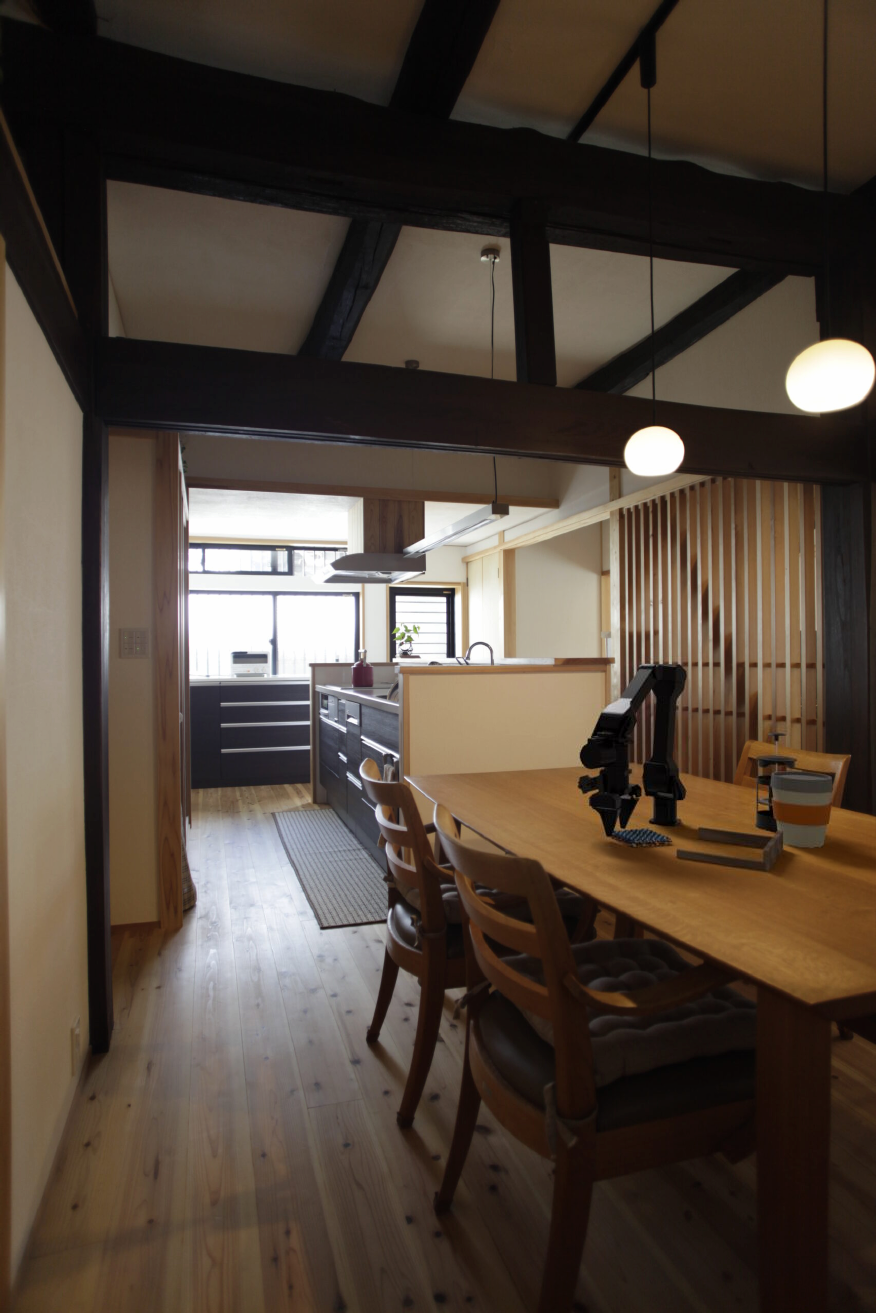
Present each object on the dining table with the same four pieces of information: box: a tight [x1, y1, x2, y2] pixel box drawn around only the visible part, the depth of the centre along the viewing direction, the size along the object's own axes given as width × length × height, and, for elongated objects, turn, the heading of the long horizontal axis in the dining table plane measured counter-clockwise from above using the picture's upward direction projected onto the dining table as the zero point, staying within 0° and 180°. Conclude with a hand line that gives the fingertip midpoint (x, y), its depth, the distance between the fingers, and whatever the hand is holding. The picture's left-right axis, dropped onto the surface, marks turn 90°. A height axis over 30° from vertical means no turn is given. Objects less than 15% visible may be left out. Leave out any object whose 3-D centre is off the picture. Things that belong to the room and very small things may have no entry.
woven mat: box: [611, 827, 673, 848], centre depth 164 cm, size 10×11×2 cm
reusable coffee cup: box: [770, 770, 834, 849], centre depth 162 cm, size 13×13×15 cm
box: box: [676, 826, 784, 872], centre depth 153 cm, size 19×18×4 cm
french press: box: [754, 732, 798, 832], centre depth 177 cm, size 12×9×23 cm
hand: (616, 832), depth 167 cm, fingers open, 9 cm apart
